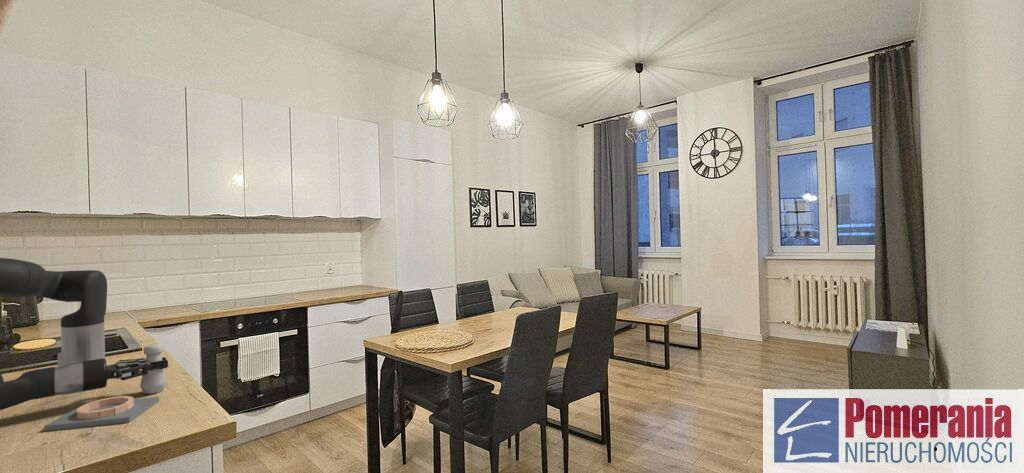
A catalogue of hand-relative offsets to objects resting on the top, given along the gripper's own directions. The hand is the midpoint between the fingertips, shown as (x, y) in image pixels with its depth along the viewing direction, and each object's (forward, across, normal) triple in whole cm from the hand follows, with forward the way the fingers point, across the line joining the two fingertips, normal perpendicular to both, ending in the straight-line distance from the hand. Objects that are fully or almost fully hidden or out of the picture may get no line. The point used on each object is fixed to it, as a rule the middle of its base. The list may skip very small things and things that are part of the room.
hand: (166, 362), depth 123 cm
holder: (-13, -12, +8) cm, 19 cm away
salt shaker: (-3, 0, +8) cm, 8 cm away
